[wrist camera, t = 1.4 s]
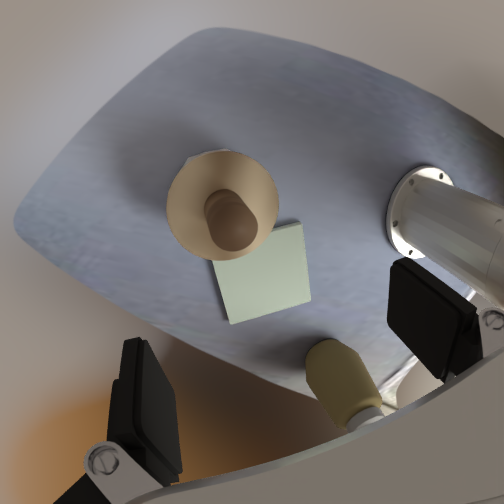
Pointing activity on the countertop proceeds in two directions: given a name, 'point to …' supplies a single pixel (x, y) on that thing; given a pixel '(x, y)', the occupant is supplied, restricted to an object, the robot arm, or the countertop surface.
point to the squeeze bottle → (343, 385)
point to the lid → (222, 205)
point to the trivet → (266, 276)
